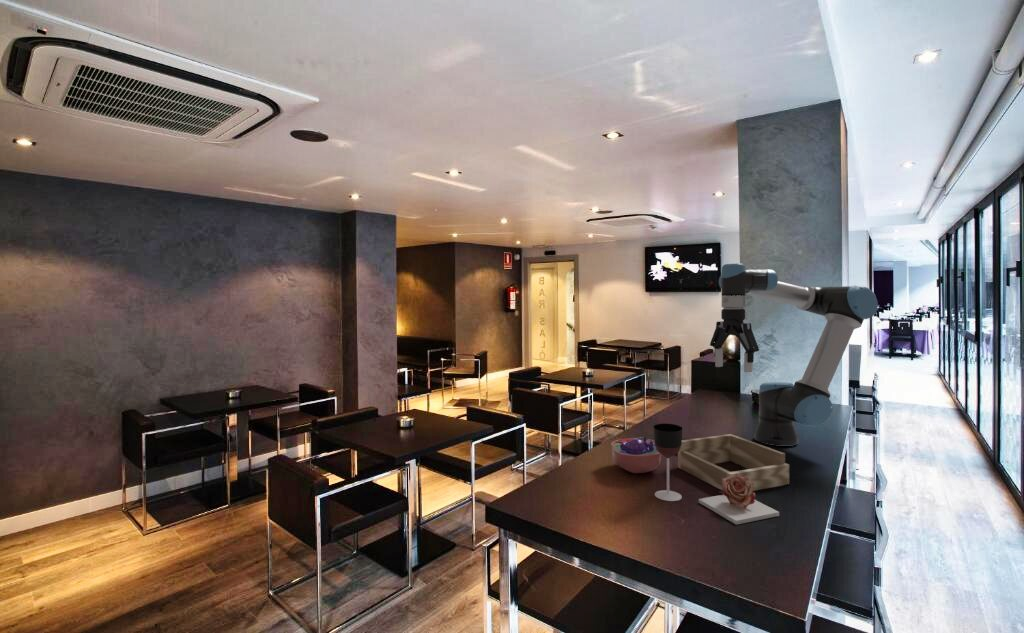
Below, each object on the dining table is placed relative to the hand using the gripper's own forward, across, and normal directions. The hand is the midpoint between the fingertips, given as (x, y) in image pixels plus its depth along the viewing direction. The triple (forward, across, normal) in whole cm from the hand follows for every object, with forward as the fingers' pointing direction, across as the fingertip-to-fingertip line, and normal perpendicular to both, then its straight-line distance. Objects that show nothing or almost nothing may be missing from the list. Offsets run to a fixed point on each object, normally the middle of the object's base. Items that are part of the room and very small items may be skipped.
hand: (733, 369), depth 169 cm
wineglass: (+32, +18, -40) cm, 54 cm away
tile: (+32, +32, -28) cm, 53 cm away
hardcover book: (+32, -20, -13) cm, 40 cm away
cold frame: (+32, +12, -12) cm, 36 cm away
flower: (+31, +32, -28) cm, 52 cm away
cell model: (+32, -3, -37) cm, 49 cm away
